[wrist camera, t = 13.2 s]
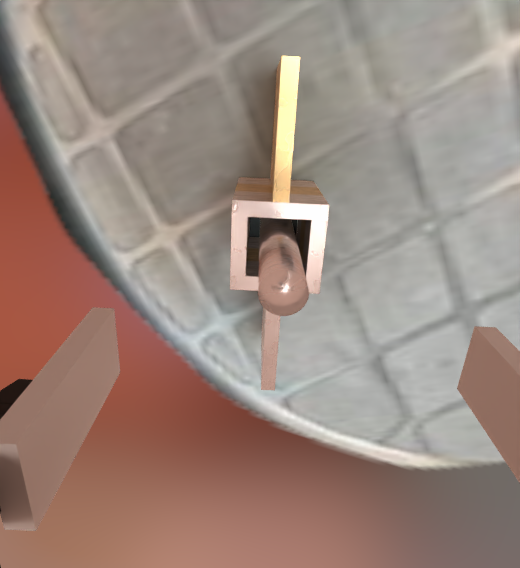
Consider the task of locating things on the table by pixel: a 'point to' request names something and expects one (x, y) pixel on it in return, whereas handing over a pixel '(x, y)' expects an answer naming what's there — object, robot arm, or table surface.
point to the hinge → (278, 214)
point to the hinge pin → (280, 268)
